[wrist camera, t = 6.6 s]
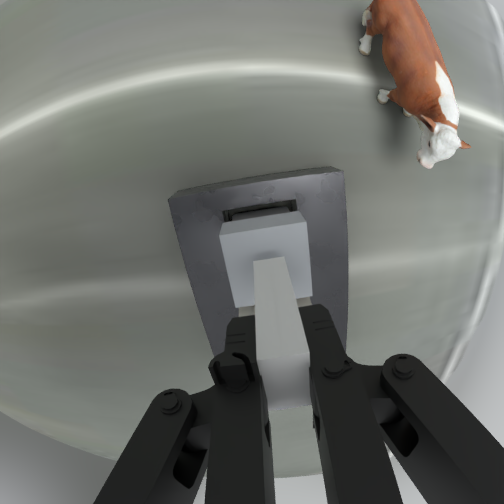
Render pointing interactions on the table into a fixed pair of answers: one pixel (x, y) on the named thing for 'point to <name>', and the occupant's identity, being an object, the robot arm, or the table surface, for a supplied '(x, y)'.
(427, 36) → the bull figurine
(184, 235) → the keypad base
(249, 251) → the grey key
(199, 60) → the table surface
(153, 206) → the table surface
